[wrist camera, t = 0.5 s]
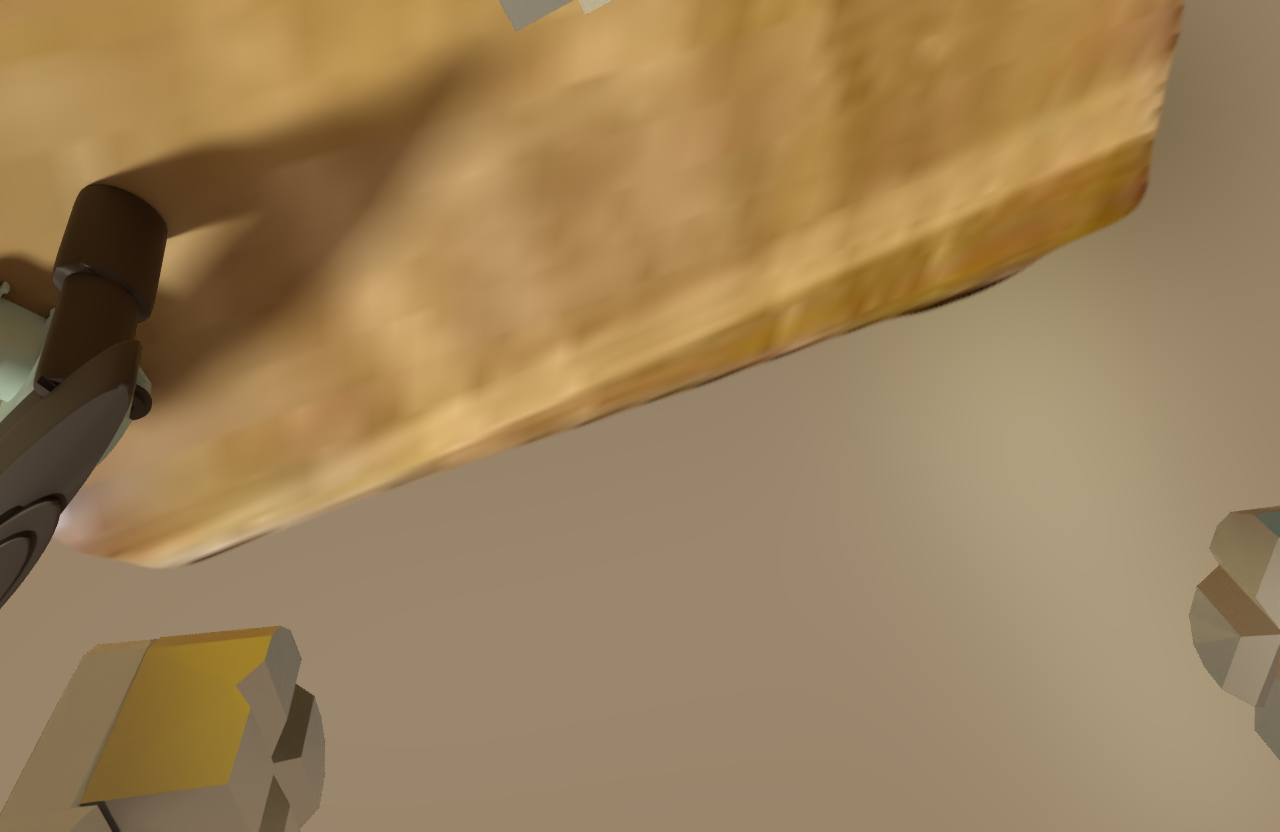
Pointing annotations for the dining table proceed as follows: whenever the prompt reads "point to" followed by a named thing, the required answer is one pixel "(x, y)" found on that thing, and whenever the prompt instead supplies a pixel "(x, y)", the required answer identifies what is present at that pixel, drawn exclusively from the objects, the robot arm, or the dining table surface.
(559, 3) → the switch panel
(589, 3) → the switch knob
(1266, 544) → the robot arm
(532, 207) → the dining table surface
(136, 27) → the dining table surface
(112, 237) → the stool
